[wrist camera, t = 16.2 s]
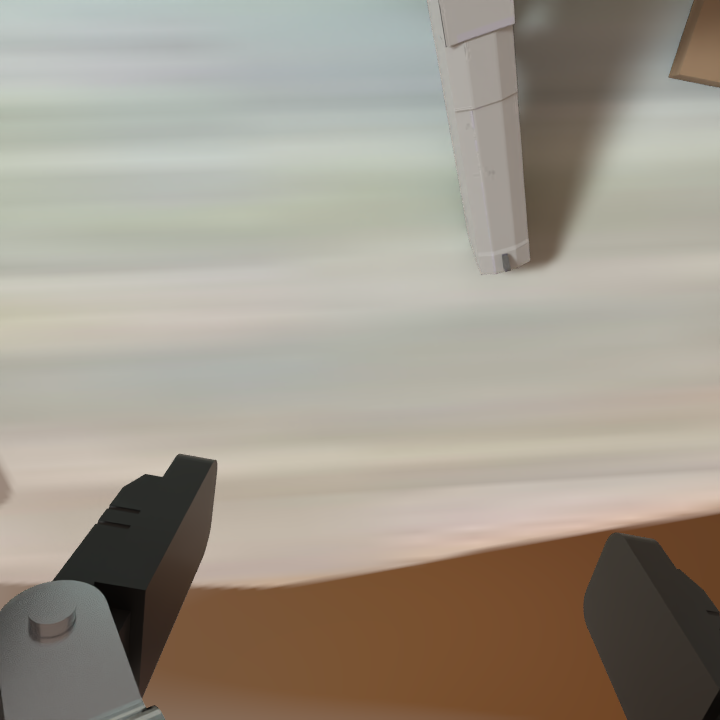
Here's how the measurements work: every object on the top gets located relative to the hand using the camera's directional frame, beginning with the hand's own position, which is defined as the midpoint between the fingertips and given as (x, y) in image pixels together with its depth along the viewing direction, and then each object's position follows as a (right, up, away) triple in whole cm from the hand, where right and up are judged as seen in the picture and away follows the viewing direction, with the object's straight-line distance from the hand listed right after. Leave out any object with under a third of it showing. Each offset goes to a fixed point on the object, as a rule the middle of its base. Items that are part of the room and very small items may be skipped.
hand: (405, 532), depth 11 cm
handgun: (+5, +24, +26) cm, 36 cm away
